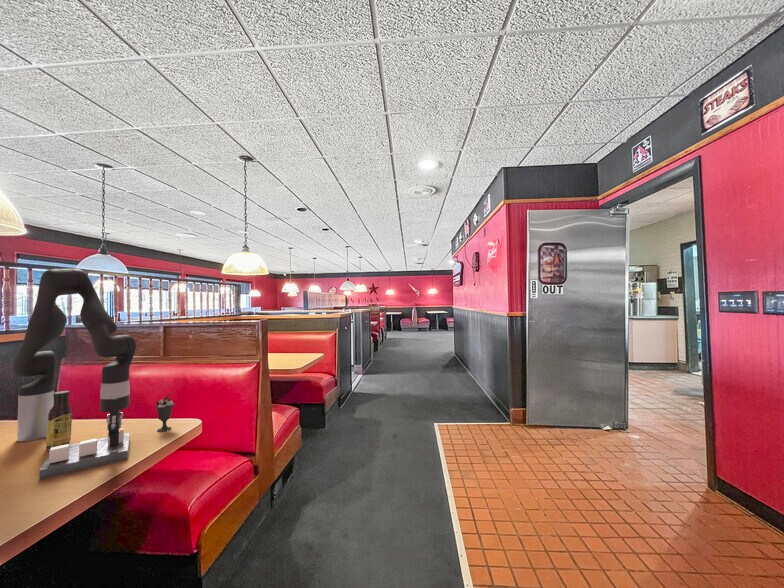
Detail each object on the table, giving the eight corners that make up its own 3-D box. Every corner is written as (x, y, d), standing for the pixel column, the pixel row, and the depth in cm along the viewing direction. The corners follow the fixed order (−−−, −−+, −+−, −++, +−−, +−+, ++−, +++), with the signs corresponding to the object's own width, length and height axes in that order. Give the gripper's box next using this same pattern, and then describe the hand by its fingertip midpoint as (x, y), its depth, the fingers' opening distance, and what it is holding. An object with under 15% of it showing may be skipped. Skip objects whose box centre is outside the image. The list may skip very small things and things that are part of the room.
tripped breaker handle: (108, 442, 109) (108, 430, 109) (123, 439, 112) (123, 427, 112) (107, 445, 107) (107, 432, 107) (123, 442, 110) (123, 429, 110)
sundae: (178, 427, 131) (178, 391, 131) (161, 433, 124) (162, 396, 125) (167, 425, 133) (167, 390, 133) (150, 431, 126) (151, 394, 127)
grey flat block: (53, 456, 106) (53, 447, 106) (129, 440, 119) (129, 432, 119) (39, 480, 92) (39, 470, 92) (127, 459, 105) (127, 450, 105)
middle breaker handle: (80, 453, 101) (80, 441, 101) (97, 450, 104) (97, 438, 104) (78, 456, 99) (79, 444, 99) (96, 453, 102) (96, 440, 102)
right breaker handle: (51, 460, 97) (51, 447, 97) (69, 456, 100) (69, 443, 100) (49, 463, 95) (49, 450, 95) (67, 459, 98) (68, 446, 98)
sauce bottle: (53, 452, 109) (55, 395, 110) (40, 450, 111) (42, 394, 111) (76, 443, 116) (77, 390, 116) (63, 442, 117) (64, 389, 117)
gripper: (102, 392, 108) (101, 442, 107) (97, 402, 97) (96, 457, 97) (130, 388, 112) (129, 436, 112) (129, 397, 102) (127, 450, 102)
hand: (114, 446), depth 104 cm, fingers closed
